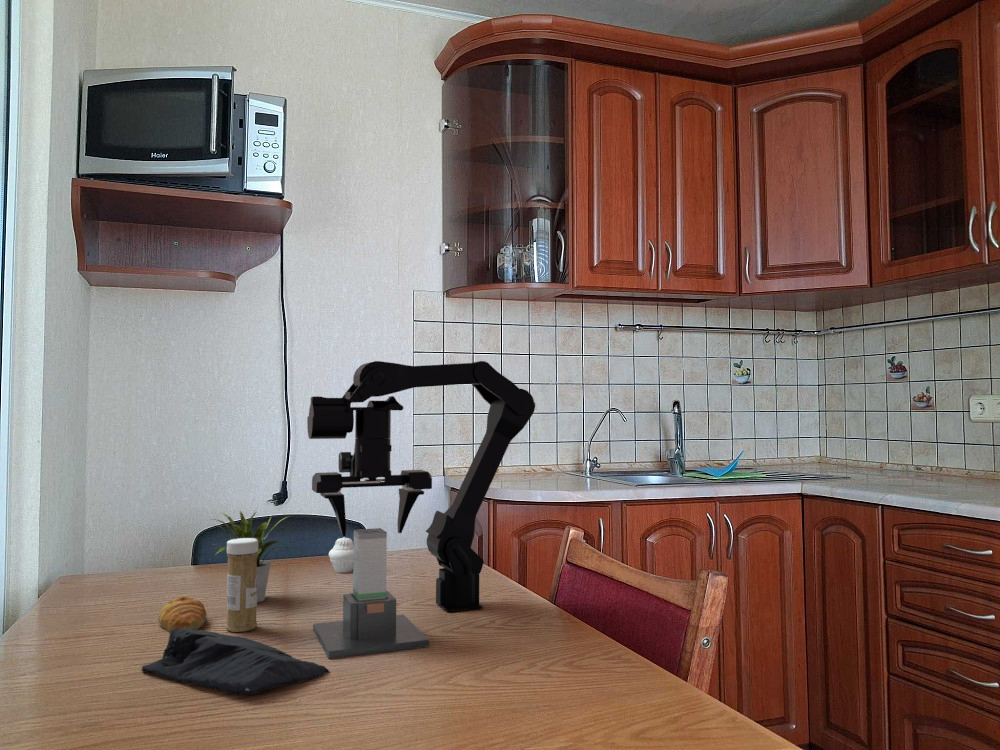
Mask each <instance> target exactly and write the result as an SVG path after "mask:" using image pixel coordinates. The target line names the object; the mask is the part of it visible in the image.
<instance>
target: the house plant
mask: <svg viewBox="0 0 1000 750" xmlns="http://www.w3.org/2000/svg"><path fill="white" fill-rule="evenodd" d="M256 510H257V509H255V510H254V512H253V514H252V515H251V516H250V518H249V519H247V518H246V517H245V516H244V513H243V512H242V511H241V510H239V515H240V525H239V524H236V523H235V522H234V520H233V518H232V517H231V516H229V515H228V514H225V513H222V512H220V514H221V515H223V516H225V517H226V519H227V520H228V521H229V523H230V524H231V527H230V525H228V524H227V523H226V522H224V521H222V520H219V519H216V518H215V519H214V518H211V521H212V520H213V521H217V522H220V523H221V524H223V525H224V526H226V527H227V528H228V530H229V531H230V532H231V533H232V535H233V536H234V538H235V539H238V538H254V539H257V540H258V552H257V603H260V602H263V601H264V600H265V598H266V592H267V588H268V587H267V586H268V581H269V575H270V570H271V565H272V564H271V561H268V560H265V559H266V557H267V556H268V554H270V553H271V552H272V551H273V550H275V549H277V548H281V547H282V548H283V547H284V545H278V546H275V547H273V548H272V549H270V550H269V551H268V552H267V553H266V554H265V555H264V557H263V559H261V556H262V555H263V554H264V552H265V551H266V550H267V549H268V548H269V547H270V546H272V545H274V544H276V543H278V542H281V540H270V541H268V542H266V543H264V541H265V540H266V538H267V539H269V537H268V535H269V534H270V532H271V531H273V530H274V528H276V526H277V525H278V524H279V523H281V521H283V520H286V519H287V518H289V517H291V515H290V516H287V517H286V516H285V517H284V518H282V519H280V520H279V521H278V522H276V524H274V525H273V527H272V528H271V529H270V530H269V531H268V532H267V534H266V535H265V536H264V534H265V532H266V530H267V529H268V527H269V524H270V521H271V519H272V517H273V516H272V515H271V516H270V517H269V519H268V521H264V522H262V523H261V524H260V525H259V526H258V527H257V528H255V530H254V533H252V523H253V518H254V517H255V515H256V514H257V511H256ZM214 526H216V527H219V528H220V529H222V530H223V531H224V532H225V533H226V534H227V535H228V537H229V538H230V540H232V539H233V538H232V537H231V535H230V533H228V531H227V530H226V528H224V527H223V526H220V525H219V524H213V527H214ZM263 543H264V544H263ZM225 544H226V546H224V547H223V546H222V545H219V544H215V543H213V545H215V546H218V547H220V548H219V549H218V550H217V551H216V553H215V555H217V554H220V552H223V551H226V552H227V542H225Z"/></svg>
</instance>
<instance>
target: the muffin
mask: <svg viewBox="0 0 1000 750" xmlns="http://www.w3.org/2000/svg"><path fill="white" fill-rule="evenodd" d="M328 558H329V561H330V563H331V565H332V566H333V569H334V571H335V572H336V573H340V574H341V573H343V574H344V573H345V574H346V573H351V572H352V571H353V559H354V540H352V539H351V538H349V537H346V536H345V537H343V536H342V537H341V538H340V537H339V538H337V540H335V541H334V546H333V548H331V550H329V552H328Z"/></svg>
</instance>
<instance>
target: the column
mask: <svg viewBox="0 0 1000 750" xmlns="http://www.w3.org/2000/svg"><path fill="white" fill-rule="evenodd" d="M387 537H388V533H387V531H385V530H384V529H382V528H381V527H380V528H379V527H378V528H363V529H360V528H359V529H353V545H354V559H353V569H352V571H353V572H352V573H353V576H352V582H353V583H352V585H353V586H352V593H353V598H354V599H355V600H356V601H357V602H363V601H373V600H384V599H386V591H387V555H388V553H387V550H388V547H387V544H388V543H387V539H388V538H387Z"/></svg>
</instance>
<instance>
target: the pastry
mask: <svg viewBox="0 0 1000 750" xmlns="http://www.w3.org/2000/svg"><path fill="white" fill-rule="evenodd" d="M206 618H207V611H206V609H205V605H204V603H203V602H201V601H200V600H198V599H197V600H196V599H194V598H193V597H190V596H189V597H188V596H178V597H176V598H174V599H173V600H168V601H167V602H166V604H164V605H163V607H162V609H161V611H160V613H159V615H158V618H157V621H158V623H159V625H160V627H162V629H164V630H166V631H167V632H169V633H170V632H171V630H173V629H177V628H182V629H192V630H200V628H201V627H203V625H204V624H205V620H206Z"/></svg>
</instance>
